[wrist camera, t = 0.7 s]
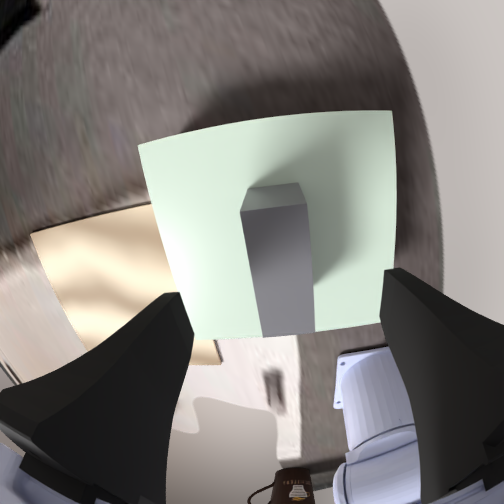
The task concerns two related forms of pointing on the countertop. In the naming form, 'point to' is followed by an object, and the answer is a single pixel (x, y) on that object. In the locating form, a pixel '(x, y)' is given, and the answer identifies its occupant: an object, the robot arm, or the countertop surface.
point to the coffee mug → (290, 487)
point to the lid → (277, 221)
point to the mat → (110, 273)
